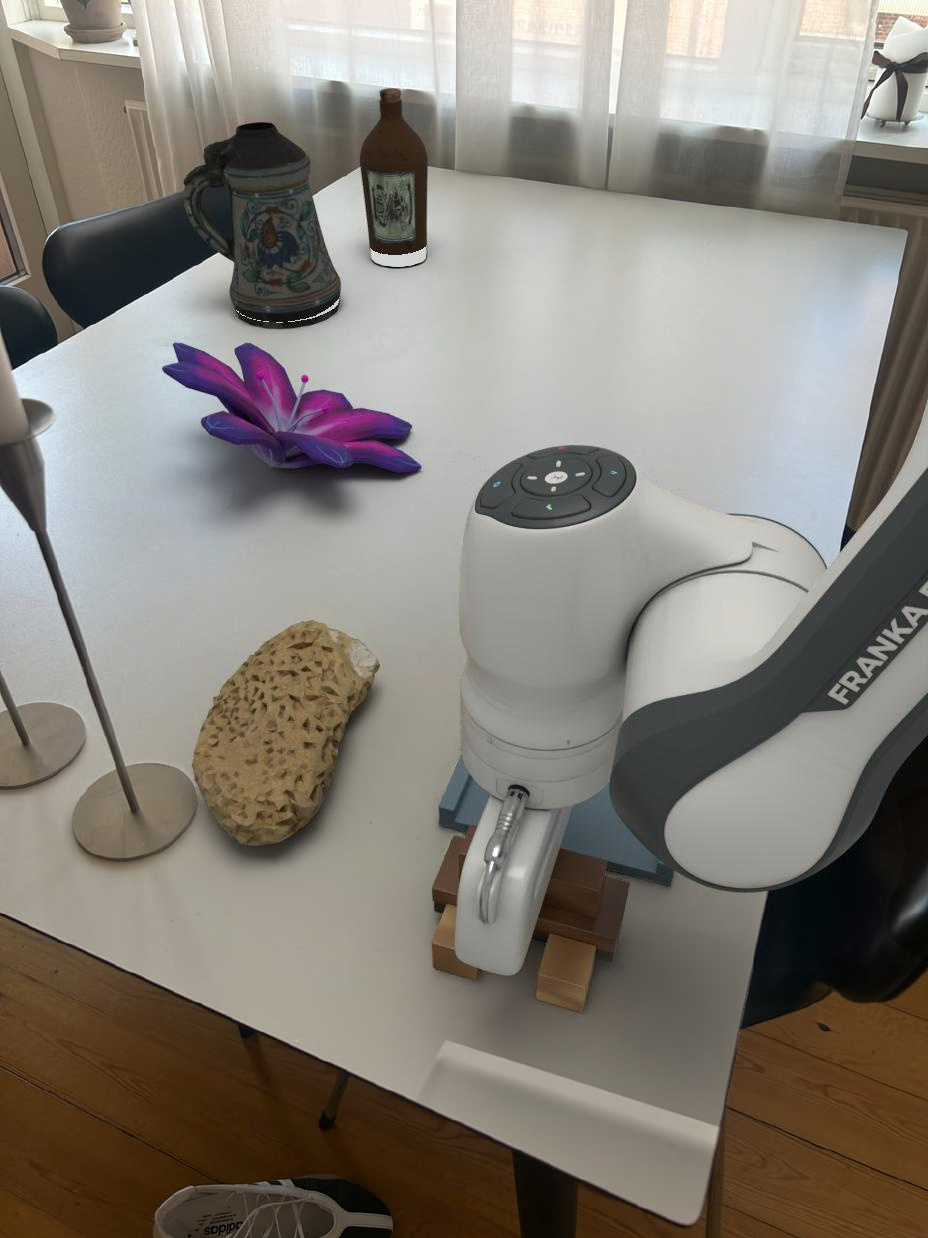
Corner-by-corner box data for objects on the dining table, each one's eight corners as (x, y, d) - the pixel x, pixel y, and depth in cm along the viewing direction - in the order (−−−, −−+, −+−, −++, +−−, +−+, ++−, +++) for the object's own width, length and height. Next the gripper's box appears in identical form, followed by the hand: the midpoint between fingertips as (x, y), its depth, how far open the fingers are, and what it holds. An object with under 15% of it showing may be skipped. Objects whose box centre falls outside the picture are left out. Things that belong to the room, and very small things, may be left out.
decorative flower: (333, 417, 130) (358, 348, 125) (441, 547, 111) (476, 472, 106) (101, 377, 110) (121, 294, 106) (184, 526, 91) (213, 433, 87)
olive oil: (371, 246, 165) (360, 82, 149) (433, 247, 164) (428, 82, 148) (362, 269, 157) (349, 98, 141) (427, 270, 156) (421, 98, 140)
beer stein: (365, 307, 145) (350, 125, 129) (254, 346, 135) (224, 153, 119) (301, 278, 154) (280, 104, 138) (194, 312, 144) (158, 129, 128)
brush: (625, 908, 64) (635, 853, 60) (611, 966, 61) (621, 912, 57) (454, 861, 67) (452, 806, 63) (432, 914, 64) (430, 859, 60)
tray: (711, 677, 83) (715, 658, 81) (671, 886, 67) (675, 867, 65) (520, 637, 87) (520, 619, 85) (438, 825, 71) (438, 806, 69)
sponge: (282, 667, 86) (122, 791, 70) (296, 595, 82) (129, 710, 66) (409, 736, 83) (271, 882, 67) (430, 664, 78) (288, 803, 62)
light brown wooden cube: (592, 971, 62) (596, 945, 60) (582, 1013, 60) (585, 988, 58) (547, 957, 63) (549, 932, 61) (535, 999, 60) (537, 974, 58)
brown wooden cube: (491, 915, 62) (476, 956, 59) (490, 941, 64) (477, 981, 61) (446, 903, 62) (430, 942, 60) (447, 929, 64) (432, 968, 62)
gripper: (548, 899, 44) (536, 1045, 53) (633, 624, 59) (613, 774, 68) (419, 863, 46) (429, 1010, 55) (534, 604, 61) (526, 753, 70)
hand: (531, 877), depth 61 cm, fingers closed on brush, 2 cm apart
